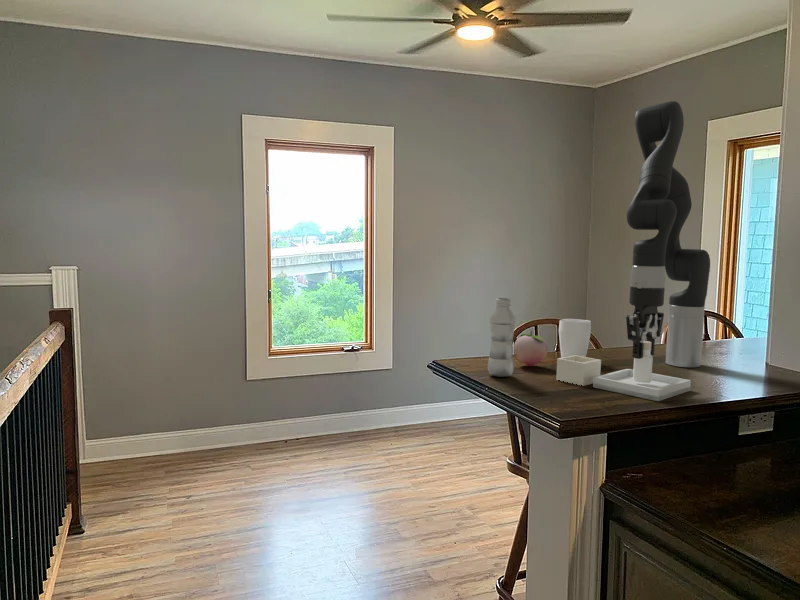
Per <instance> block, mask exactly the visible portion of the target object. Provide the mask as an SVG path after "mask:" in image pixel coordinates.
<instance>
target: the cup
mask: <svg viewBox="0 0 800 600" xmlns="http://www.w3.org/2000/svg"><path fill="white" fill-rule="evenodd" d="M591 329H592V323H591V320H589V319H579V318H561V319H559V325H558V337H559V349H560V358H562V357H568V356H573V355H576V356H582V357H587V353H588V349H589V344H590V339H591V334H592V330H591Z"/></svg>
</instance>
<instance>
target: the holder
mask: <svg viewBox="0 0 800 600" xmlns="http://www.w3.org/2000/svg"><path fill="white" fill-rule="evenodd" d="M601 368H602V360H601V359H597V358H593V357H587V356H586V357H582V356H576V355H573V356H568V357H562V358H561V357H558V358H557V359H556V379H555V380H556V381H558V380H560V381H559V382H563V381H564V383H567V382H568V384H572V383H573V384H572V385H576V384H577V385H576V386H581V385H582V386H581V387H583V386H588V385H593V378H594V377H595V376H600V375H601V371H602V370H601Z"/></svg>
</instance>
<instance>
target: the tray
mask: <svg viewBox="0 0 800 600" xmlns="http://www.w3.org/2000/svg"><path fill="white" fill-rule="evenodd" d="M691 382H692V380H691V379H686V378H680V377H675V376H670V375H666V374H665V375H664V374H659V373H653V372H652V377H651V382H650V383H644V382H635V381H634V380H633V368H625V369H621V370H615V371H612V372H608V373H605V374H600V376H595V377H594V378H593V383H592V387H593V388H596V389H599V390H604V391H609V392H614V393H618V394H622V395H627V396H632V397H637V398H641V399H646V400H651V401H655V402H660V401H663V400H666V399H670V398H673V397H674V396H676V397H677V396H679V395H682V394H684V393H686V392H690V391H691V387H692V385H691Z"/></svg>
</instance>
